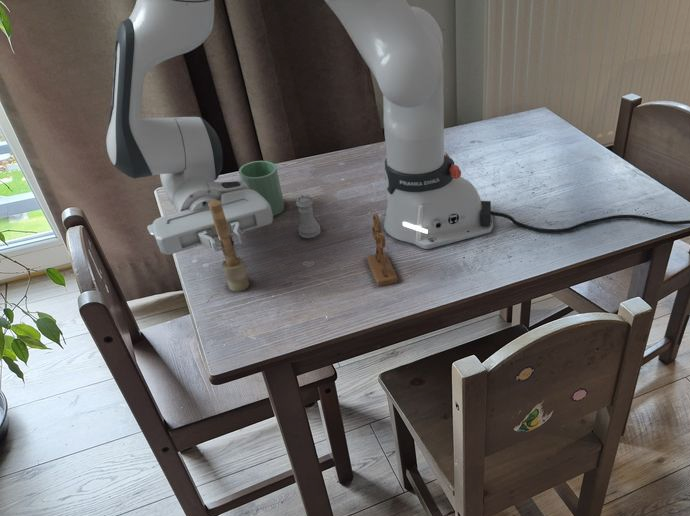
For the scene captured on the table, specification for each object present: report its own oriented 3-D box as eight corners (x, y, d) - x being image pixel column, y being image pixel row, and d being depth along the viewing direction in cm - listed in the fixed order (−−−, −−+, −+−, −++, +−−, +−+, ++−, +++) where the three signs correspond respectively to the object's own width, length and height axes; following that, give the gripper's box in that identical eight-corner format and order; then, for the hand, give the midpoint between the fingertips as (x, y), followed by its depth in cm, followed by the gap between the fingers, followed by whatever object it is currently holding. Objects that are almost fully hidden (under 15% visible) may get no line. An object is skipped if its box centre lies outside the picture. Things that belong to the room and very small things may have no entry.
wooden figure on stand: (366, 259, 122) (359, 204, 113) (386, 255, 123) (381, 200, 114) (377, 286, 116) (371, 230, 107) (398, 282, 117) (394, 226, 108)
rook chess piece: (299, 240, 126) (292, 205, 121) (298, 228, 129) (291, 193, 124) (321, 238, 127) (315, 202, 121) (320, 226, 130) (314, 191, 124)
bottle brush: (249, 278, 117) (226, 196, 105) (249, 289, 115) (226, 207, 103) (228, 281, 116) (203, 199, 105) (228, 292, 114) (202, 210, 102)
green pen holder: (283, 197, 138) (275, 158, 132) (285, 214, 133) (277, 175, 127) (248, 201, 137) (238, 162, 130) (249, 219, 131) (239, 180, 125)
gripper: (138, 209, 110) (159, 247, 102) (252, 178, 119) (280, 211, 110) (150, 239, 115) (171, 278, 106) (259, 207, 123) (286, 241, 115)
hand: (227, 244), depth 108 cm, fingers closed on bottle brush, 2 cm apart
